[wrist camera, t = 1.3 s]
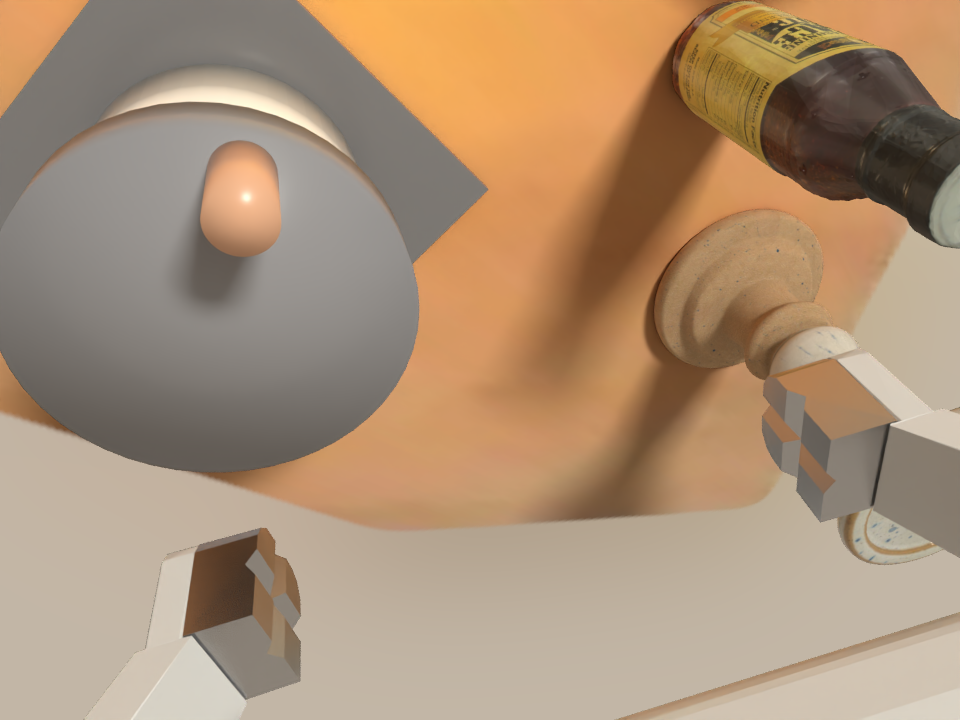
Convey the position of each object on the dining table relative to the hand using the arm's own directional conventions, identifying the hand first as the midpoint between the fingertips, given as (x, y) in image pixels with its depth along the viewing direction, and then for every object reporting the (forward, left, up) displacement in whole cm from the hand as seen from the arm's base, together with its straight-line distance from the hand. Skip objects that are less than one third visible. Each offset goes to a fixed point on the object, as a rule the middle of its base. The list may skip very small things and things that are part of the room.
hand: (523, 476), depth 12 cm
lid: (+1, -10, -21) cm, 23 cm away
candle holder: (+30, +7, -31) cm, 44 cm away
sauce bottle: (+15, +14, -31) cm, 37 cm away
